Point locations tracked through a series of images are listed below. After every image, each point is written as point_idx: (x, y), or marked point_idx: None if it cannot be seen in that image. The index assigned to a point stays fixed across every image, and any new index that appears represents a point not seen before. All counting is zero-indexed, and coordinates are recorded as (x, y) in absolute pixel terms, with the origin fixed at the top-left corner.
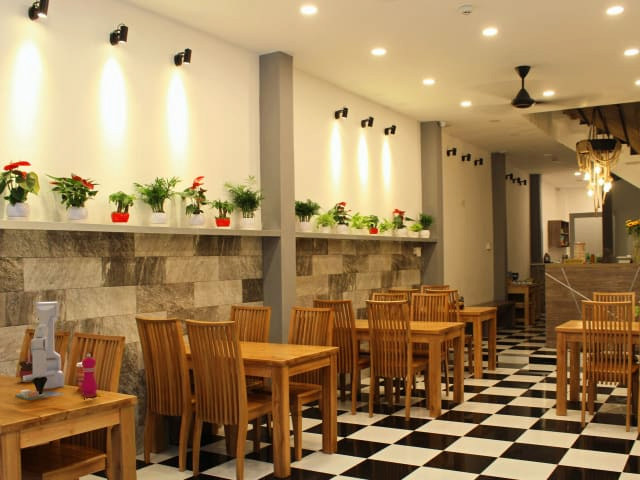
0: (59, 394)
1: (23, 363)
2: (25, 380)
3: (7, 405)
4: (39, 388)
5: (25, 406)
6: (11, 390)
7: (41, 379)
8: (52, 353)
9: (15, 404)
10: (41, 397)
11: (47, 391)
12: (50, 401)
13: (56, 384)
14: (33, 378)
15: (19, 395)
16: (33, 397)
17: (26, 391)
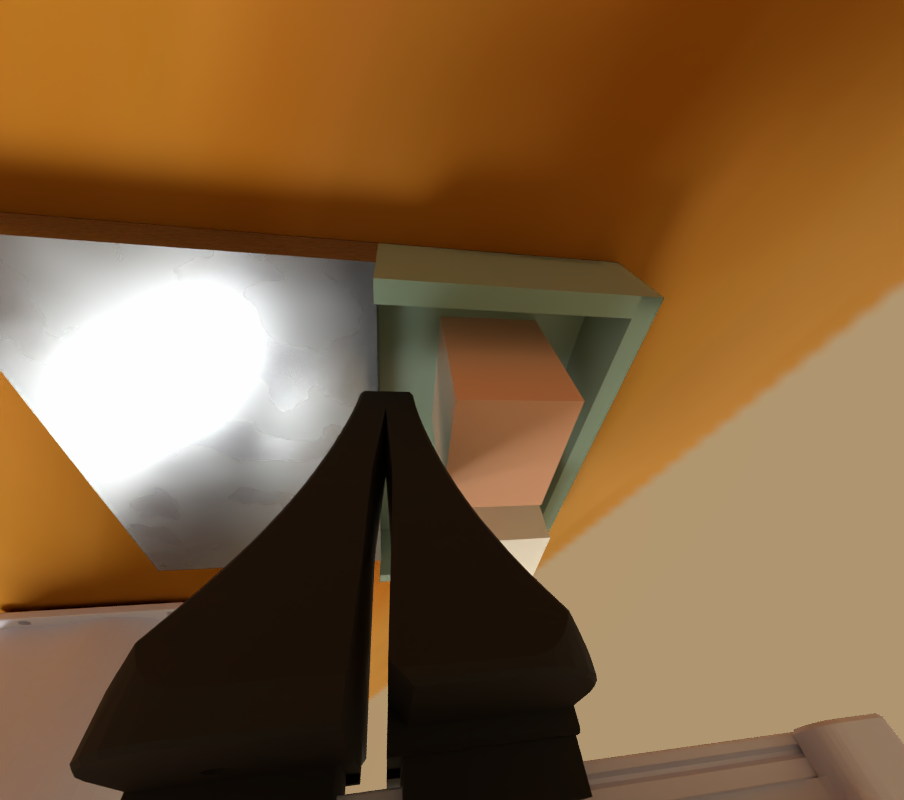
0: (30, 289)
1: None
2: (869, 718)
3: (756, 383)
4: (426, 459)
5: (856, 64)
6: None
7: (352, 718)
8: None
9: (697, 363)
10: (437, 270)
11: (194, 565)
12: (326, 61)
13: (50, 672)
14: (607, 790)
15: (550, 525)
16: (591, 290)
17: (523, 534)
